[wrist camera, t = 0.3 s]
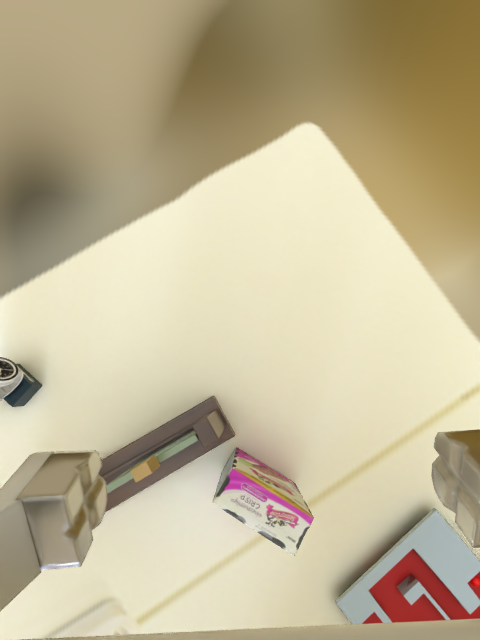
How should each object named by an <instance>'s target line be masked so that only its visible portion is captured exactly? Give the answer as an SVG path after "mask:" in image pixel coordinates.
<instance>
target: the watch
mask: <svg viewBox="0 0 480 640" xmlns="http://www.w3.org/2000/svg"><path fill="white" fill-rule="evenodd" d="M41 387H42V384H40V383H39V382H38V381H37V380H36V379H35V378H34V377H33V376H32V375H31V374H30V373H29V372H27V371H26V370H25V369H24V368H23V367H22V366H21V365H20V364H15V363H14V362H13V361H11V360H9V359H7V358H3V357H0V401H1V400H2V399H4V400H6V401H7V402H8V403H9V404H10V405H11V406H12V407H17V406H24V405H25V404H26V403H27V402H28V401H29V400H30V399H31V398H32V396H33V395H34V394H35V393H36V392H37V391H38V390H39V389H40V388H41Z"/></svg>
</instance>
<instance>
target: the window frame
mask: <svg viewBox="0 0 480 640" xmlns="http://www.w3.org/2000/svg"><path fill="white" fill-rule="evenodd" d="M194 430H195V432H196V434H197V436H198V438H199V440H198V441H196V442H194V443H193V444H191V445H189V446H188V447H186V448H184V449H182V450H181V451H179V452H177V453H176V454H174V455H172V456H170V457H169V458H167V459H165V460H164V461H162V462H160V466H159V467H158V468H157V469H156V470H155V471H154V472H153V473H152V474H150V475H148V476H146V477H145V478H143V479H141V480H140V481H138V482H135V480H134V478H133V479H131V480H129V481H128V482H126V483H124V484H122V485H121V486H119V487H117V488H116V489H114V490H112V491H111V492H109V493H107V504H106V510H105V512H106V511H108V510H110V509H111V508H113V507H115V506H116V505H118V504H120V503H121V502H123V501H125V500H127V499H128V498H130V497H132V496H133V495H135V494H137V493H138V492H140V491H142V490H144V489H145V488H147V487H149V486H150V485H152V484H154V483H155V482H157V481H159V480H161V479H162V478H164V477H166V476H167V475H169V474H171V473H172V472H174V471H176V470H178V469H179V468H181V467H183V466H184V465H186V464H188V463H189V462H191V461H193V460H195V459H196V458H198V457H200V456H201V455H203V454H205V453H207V452H208V451H210V450H212V449H213V448H215V447H217V446H218V445H220V444H222V443H224V442H225V441H227V440H229V439H230V438H232V437H234V436H235V433H234V431H233V429H232V427H231V426H230V424H229V422H228V420H227V418H226V416H225V415H224V413H223V411H222V409H221V407H220V405H219V404H218V402H217V400H216V398H215V396H213V397H211V398H209V399H207V400H206V401H204V402H202V403H200V404H199V405H197V406H195V407H193V408H192V409H190V410H188V411H187V412H185V413H183V414H181V415H180V416H178V417H176V418H174V419H173V420H171V421H169V422H167V423H166V424H164V425H162V426H160V427H159V428H157V429H155V430H154V431H152V432H150V433H148V434H147V435H145V436H143V437H141V438H140V439H138V440H136V441H134V442H133V443H131V444H129V445H127V446H126V447H124V448H122V449H121V450H119V451H117V452H115V453H114V454H112V455H110V456H108V457H107V458H105V459H103V460H101V461H102V467H101V469H100V471H99V473H98V474H99V475H100V476H101V477H102V478H103V479H104V480H105V481H106V485H107V484H109V483H110V482H112V481H113V480H115V479H116V478H117V477H119V476H120V475H121V474H123V473H124V472H126V471H127V470H128V469H130V468H131V467H133V466H134V465H135V464H137V463H139V462H140V461H142V460H144V459H145V458H147V457H149V456H151V455H152V454H154V453H156V452H157V451H159V450H161V449H163V448H164V447H166V446H168V445H170V444H171V443H173V442H175V441H176V440H178V439H180V438H182V437H183V436H185V435H187V434H188V433H190V432H192V431H194Z"/></svg>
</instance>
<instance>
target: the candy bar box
mask: <svg viewBox="0 0 480 640" xmlns="http://www.w3.org/2000/svg"><path fill="white" fill-rule="evenodd" d="M213 503H214V504H215V505H217V506H218V507H220V508H221V509H223V510H224V511H226V512H227V513H229V514H230V515H232V516H233V517H235V518H236V519H238V520H239V521H241V522H243V523H244V524H246V525H247V526H249V527H250V528H252V529H253V530H255V531H256V532H258V533H259V534H261V535H262V536H264V537H266V538H267V539H269V540H270V541H272V542H273V543H275V544H276V545H278V546H280V547H281V548H282V549H284V550H286V551H287V552H289V553H291V554H292V555H294V556H295V554H296V552H297V550H298V548H299V546H300V544H301V542H302V540H303V537H304V536H305V534H306V531H307V529H308V528H309V527H310V525H311V523H312V521H313V519H314V517H313V515H312V513H311V512H310V510H309V508H308V506H307V504H306V502H305V500H304V499H303V497H302V495H301V493H300V491H299V490H298V488H297V486H296V484H295V483H294V482H292V481H291V480H289V479H287V478H286V477H284V476H282V475H281V474H279V473H277V472H276V471H274V470H273V469H271V468H269V467H268V466H266V465H265V464H263V463H261V462H260V461H258V460H256V459H255V458H253V457H252V456H250V455H248V454H247V453H245V452H243V451H242V450H240V449H239V448H236V449H235V451H234V452H233V454H232V456H231V457H230V459H229V461H228V462H227V464H226V466H225V468H224V469H223V471H222V473H221V477H220V480H219V483H218V486H217V490H216V493H215V496H214V499H213Z"/></svg>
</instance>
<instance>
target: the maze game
mask: <svg viewBox="0 0 480 640" xmlns="http://www.w3.org/2000/svg"><path fill="white" fill-rule="evenodd" d="M335 601H336V604H337V605H338V606H339V608H340V609H341V610H342V612H343V613H344V614H345V616H346V617H347V618H348V619H349V621H350V622H351V623H352V624H373V623H395V622H417V621H439V620H461V619H480V561H479V559H478V558H477V557H476V556H475V555H474V554H473V552H472V551H471V550H470V549H469V548H468V547H467V545H466V544H465V543H464V542H463V541H462V539H461V538H460V537H459V536H458V535H457V534H456V532H455V531H454V530H453V529H452V528H451V527H450V525H449V524H448V523H447V522H446V521H445V519H444V518H443V517H442V516H441V515H440V514H439V512H438V511H437V510H436V509H434V508H433V509H432V510H431V511H430V512H429V513H428V514H427V515H426V516H425V517H424V518H423V519H422V520H421V521H420V522H419V523H417V524H416V525H415V526H414V527H413V528H412V529H411V530H410V531H409V532H408V533H407V534H406V535H405V536H404V537H403V538H401V539H400V540H399V541H398V542H397V543H396V544H395V545H394V546H393V547H392V548H391V549H390V550H389V551H388V552H386V553H385V554H384V555H383V556H382V557H381V558H380V559H379V560H378V561H377V562H376V563H375V564H374V565H373V566H372V567H370V568H369V569H368V570H367V571H366V572H365V573H364V574H363V575H362V576H361V577H360V578H359V579H358V580H357V581H356V582H354V583H353V584H352V585H351V586H350V587H349V588H348V589H347V590H346V591H345V592H344V593H343V594H342V595H341V596H339V597H338V598H337V599H336V600H335Z"/></svg>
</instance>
